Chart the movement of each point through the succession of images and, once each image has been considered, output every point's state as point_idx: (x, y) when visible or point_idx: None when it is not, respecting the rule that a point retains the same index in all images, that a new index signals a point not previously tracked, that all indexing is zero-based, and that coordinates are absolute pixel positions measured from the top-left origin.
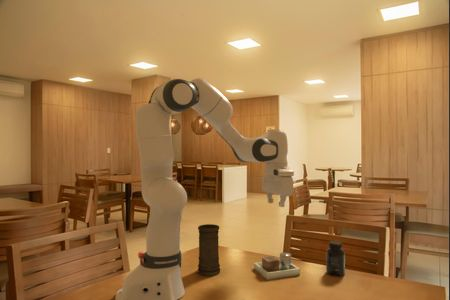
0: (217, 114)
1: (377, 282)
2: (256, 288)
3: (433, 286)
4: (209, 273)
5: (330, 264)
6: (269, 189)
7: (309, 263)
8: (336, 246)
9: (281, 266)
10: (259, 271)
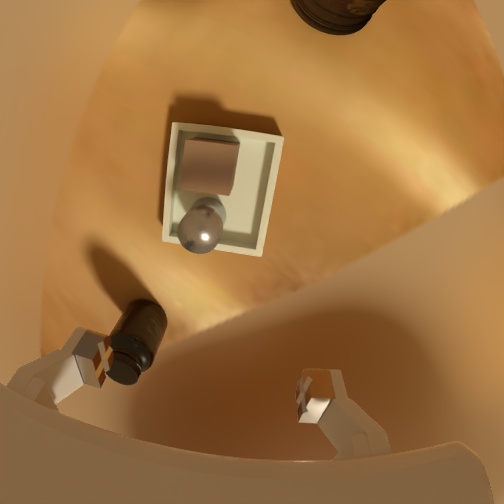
0: None
1: None
2: (143, 66)
3: None
4: None
5: (128, 314)
6: (267, 496)
7: (233, 313)
8: None
9: (202, 201)
10: (234, 128)
